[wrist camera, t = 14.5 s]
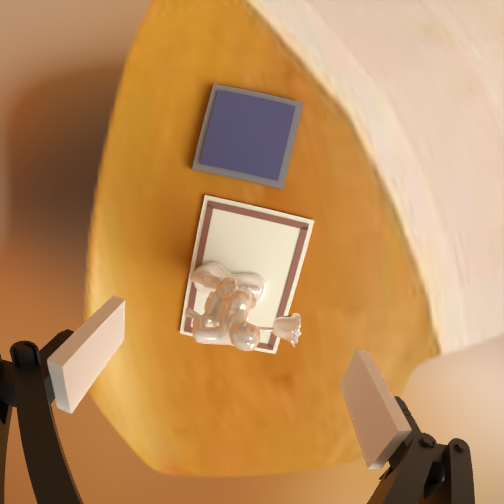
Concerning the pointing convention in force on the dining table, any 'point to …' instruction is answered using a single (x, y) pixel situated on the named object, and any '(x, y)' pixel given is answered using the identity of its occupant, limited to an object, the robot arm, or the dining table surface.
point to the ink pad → (247, 135)
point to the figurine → (234, 309)
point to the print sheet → (250, 257)
